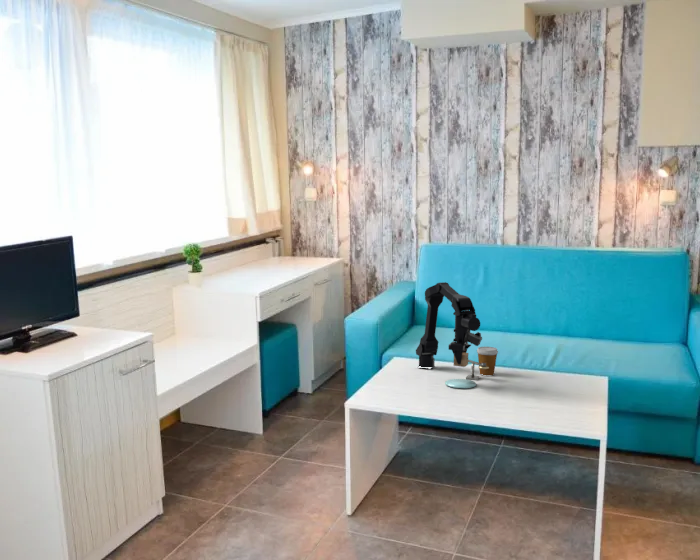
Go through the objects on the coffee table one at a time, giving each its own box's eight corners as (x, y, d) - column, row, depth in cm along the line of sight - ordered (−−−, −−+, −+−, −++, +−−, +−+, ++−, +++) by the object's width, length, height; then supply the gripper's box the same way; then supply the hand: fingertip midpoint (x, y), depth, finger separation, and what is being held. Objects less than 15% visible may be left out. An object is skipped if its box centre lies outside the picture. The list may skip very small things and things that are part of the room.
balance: (455, 378, 299) (456, 358, 298) (458, 375, 304) (459, 356, 303) (487, 381, 293) (487, 361, 292) (489, 378, 298) (490, 359, 297)
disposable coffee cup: (499, 377, 301) (500, 350, 300) (478, 376, 301) (478, 350, 300) (495, 371, 311) (495, 346, 309) (474, 371, 311) (475, 346, 309)
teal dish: (441, 387, 284) (441, 384, 284) (450, 379, 296) (450, 377, 296) (471, 390, 279) (471, 388, 279) (479, 383, 291) (479, 380, 291)
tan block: (453, 365, 285) (453, 354, 285) (456, 363, 290) (457, 351, 289) (465, 366, 283) (465, 355, 283) (468, 364, 288) (468, 352, 287)
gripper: (475, 332, 273) (474, 369, 275) (485, 324, 290) (484, 359, 292) (448, 329, 278) (447, 366, 279) (460, 322, 294) (459, 357, 296)
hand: (460, 362), depth 287 cm, fingers closed on tan block, 5 cm apart
